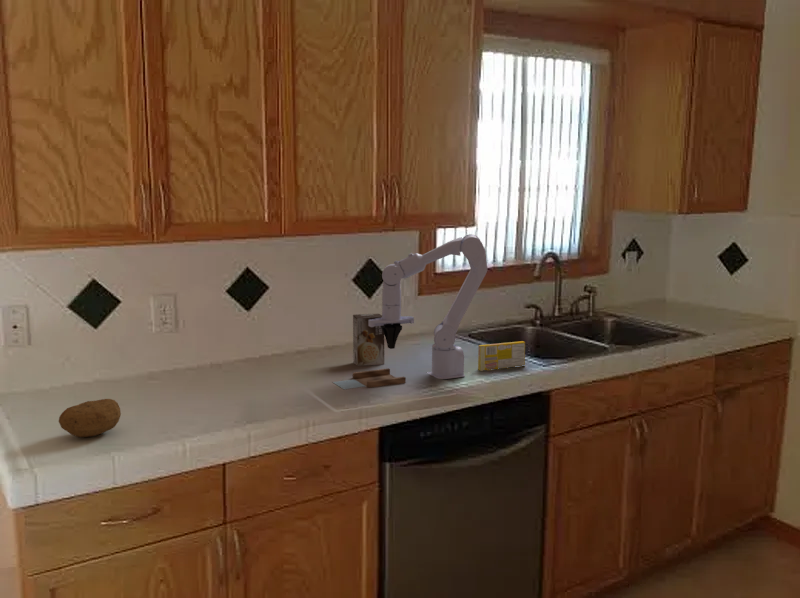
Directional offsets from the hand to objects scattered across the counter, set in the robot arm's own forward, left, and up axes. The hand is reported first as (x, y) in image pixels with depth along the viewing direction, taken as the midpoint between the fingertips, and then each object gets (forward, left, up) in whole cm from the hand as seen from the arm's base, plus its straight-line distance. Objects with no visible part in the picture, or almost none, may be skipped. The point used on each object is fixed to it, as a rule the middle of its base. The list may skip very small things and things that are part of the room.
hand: (391, 348), depth 238 cm
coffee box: (+1, -14, -9) cm, 16 cm away
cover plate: (+17, +6, -9) cm, 20 cm away
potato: (+88, +18, -9) cm, 90 cm away
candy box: (-36, +8, -9) cm, 38 cm away
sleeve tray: (+7, +6, -8) cm, 12 cm away
